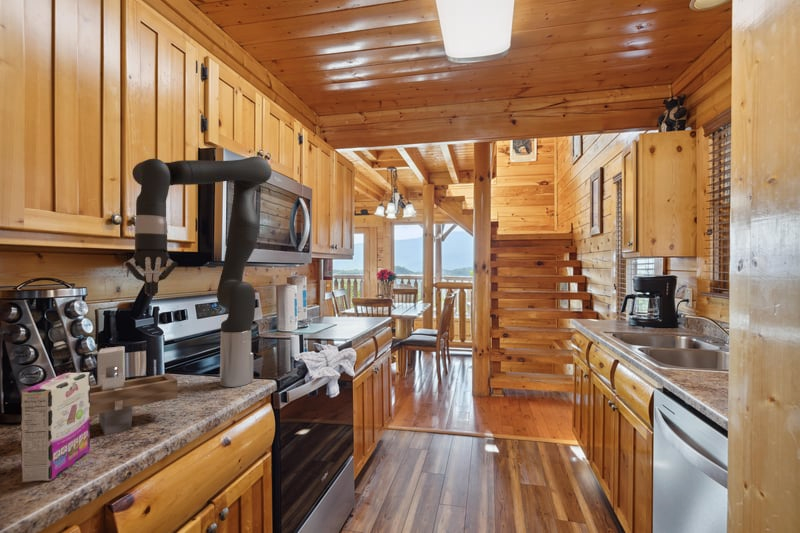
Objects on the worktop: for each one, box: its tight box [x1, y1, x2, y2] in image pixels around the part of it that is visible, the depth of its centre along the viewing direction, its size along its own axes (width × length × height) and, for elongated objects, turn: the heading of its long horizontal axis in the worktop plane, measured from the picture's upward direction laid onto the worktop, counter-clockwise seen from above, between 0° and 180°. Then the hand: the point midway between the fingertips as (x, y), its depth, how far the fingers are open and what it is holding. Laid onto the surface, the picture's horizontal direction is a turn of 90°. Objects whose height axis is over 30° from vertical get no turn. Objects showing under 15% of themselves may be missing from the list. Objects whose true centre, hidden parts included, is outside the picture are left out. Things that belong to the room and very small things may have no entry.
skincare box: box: [96, 346, 126, 385], centre depth 107 cm, size 8×6×15 cm
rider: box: [100, 366, 124, 392], centre depth 90 cm, size 4×4×7 cm
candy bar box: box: [20, 371, 91, 484], centre depth 73 cm, size 11×5×16 cm, turn 9°
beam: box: [89, 373, 178, 436], centre depth 91 cm, size 24×9×10 cm, turn 135°
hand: (151, 295), depth 106 cm, fingers closed
